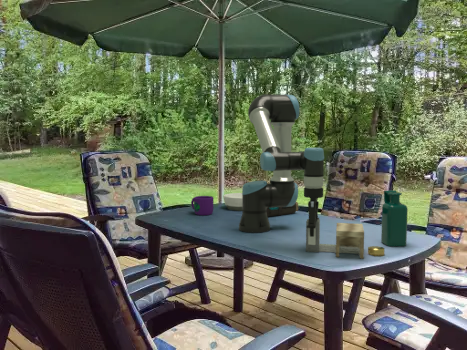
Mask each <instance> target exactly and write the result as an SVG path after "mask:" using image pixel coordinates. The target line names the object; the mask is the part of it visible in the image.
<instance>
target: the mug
mask: <svg viewBox="0 0 467 350" xmlns="http://www.w3.org/2000/svg"><path fill="white" fill-rule="evenodd" d="M190 205H191V208H192V209H193V210H194V213H195V215H197V216H210V215H212V214H213V213H214V196H211V195H198V196H197V195H196V196H195V197H193V198H192V199H191V201H190Z"/></svg>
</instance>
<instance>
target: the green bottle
mask: <svg viewBox="0 0 467 350" xmlns="http://www.w3.org/2000/svg"><path fill="white" fill-rule="evenodd" d="M402 195H403V194H402V192H398V191H397V190H395V189H394V190H383V200H384V201H383V202H384V203H383V204H382V208H381V239H380V241H381V243H382V244H384V245H386V246H387V247H391V248H392V247H405V246H407V239H408V238H407V235H408V234H407V233H408V211H409V210H408V209H409V208H408V206H407V204H404V203H402V202H401V201H400V200H401V198H400V197H401V196H402Z"/></svg>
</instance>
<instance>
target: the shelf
mask: <svg viewBox="0 0 467 350" xmlns="http://www.w3.org/2000/svg"><path fill="white" fill-rule="evenodd" d="M335 231H336V234H335V235H336V236H335V237H336V238H335V245H336V252H335V257H336V258H340V253H339V245H351V246H358V244H360V255H359V258H360V259H362V260H363V259H364V257H365V256H364V255H365V254H364V251H365V229H364V224H363V223H350V222H349V223H348V222H336V229H335Z"/></svg>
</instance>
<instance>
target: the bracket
mask: <svg viewBox="0 0 467 350" xmlns="http://www.w3.org/2000/svg"><path fill="white" fill-rule="evenodd" d="M308 221H309V218H307V219H306V221H305V225H306V226H305V252H308V253H319V252H320V253H321V252H323V253H336V244H332V243H331V244H329V243H327V244H326V243H320V241H321V239H320V237H321V236H320V234H321V233H320V232H321V219H319V220H316V221H315V226H316V227H315V228H316V241H315V245H308V228H307V226H308ZM339 254H355V255H357V254H358V256H360V244H358V246H351V245H339Z"/></svg>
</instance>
